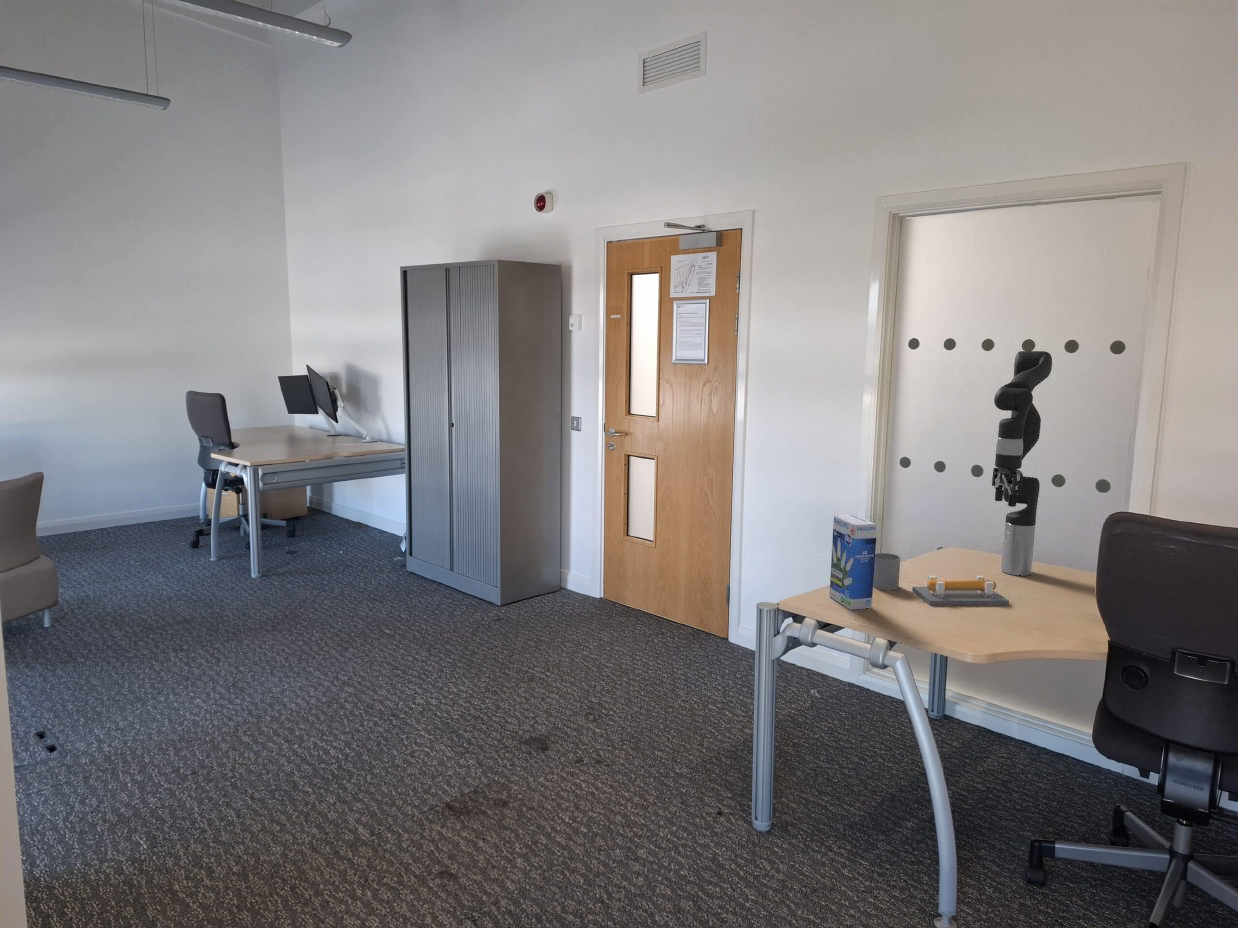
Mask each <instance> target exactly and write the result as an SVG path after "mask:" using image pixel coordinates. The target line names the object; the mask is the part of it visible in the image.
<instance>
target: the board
mask: <svg viewBox="0 0 1238 928" xmlns="http://www.w3.org/2000/svg"><path fill="white" fill-rule="evenodd" d="M927 577H928V578H927V581H928V580H938V577H937V576H936V575H927ZM975 580H985V576H983V575H976V576H975ZM993 586H994V583H993V582H985V587H984V590H955V591H944V588H945V583H944V582H936V591H929V590H928V588H927V586H912V588H911V589H912V593H914V594H915V595H916V596H917V597H919V598H920V599H921V600H922V601H924V602H925V603H926V604H927V605H929V606H931V605H951V606H1010V600H1009V599H1008V598H1006V597H1004V596H1002V595H1001V594H999V593H998V592H997V591H995V590H993ZM931 607H932V606H931Z"/></svg>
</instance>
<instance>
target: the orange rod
mask: <svg viewBox="0 0 1238 928" xmlns="http://www.w3.org/2000/svg"><path fill="white" fill-rule="evenodd" d="M936 582H944V583H945V588H944V591H955V590H984V587H985V582H993V583H994V586H993V591H995V590H996V588H997V582H995V581H994V580H992V579H984V580H976V579H937V580H928V579H927V582H926V587H927V588H928V590H929V591H936Z"/></svg>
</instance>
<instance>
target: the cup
mask: <svg viewBox="0 0 1238 928" xmlns="http://www.w3.org/2000/svg"><path fill="white" fill-rule="evenodd" d="M900 568H901V556H900V555H897V554H894V553H888V552H885V553H884V552H880V553H875V565H874V579H873V589H876V590H881V591H886V592H887V591H897V590H899V587H900V585H899V583H900V571H901V570H900Z"/></svg>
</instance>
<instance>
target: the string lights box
mask: <svg viewBox="0 0 1238 928" xmlns="http://www.w3.org/2000/svg"><path fill="white" fill-rule="evenodd" d="M832 524H833V526H832V527H833V528H832V540H831V541H832V543H831V544H832V545H831V546H832V547H831V558H830V559H831V562H830V577H829V579H830V581H829V583H830V584H829V598H832V600H835V602H838V603H839V604H841V605H842V606H843V607H845V608H846V609H848V610H851V611H853V610H865V609H866V608H869V609H872V607H873V606H872V605H873V591H874V588H873V579H874V565H875V554H876V548H877V534H878V523H875V522H871V521H870V520H868V519H866V518H863V517H861V516H857V515H856V514H838V515H837V514H836V515H833V523H832Z"/></svg>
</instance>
